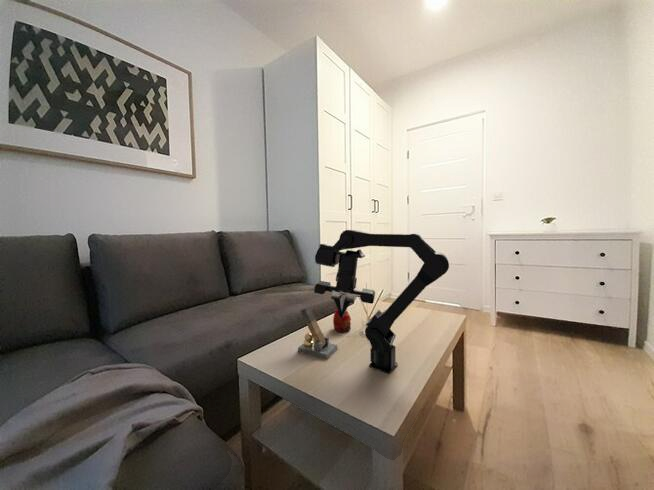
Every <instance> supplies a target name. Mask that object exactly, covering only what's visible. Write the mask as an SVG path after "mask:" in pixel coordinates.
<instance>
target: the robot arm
mask: <svg viewBox="0 0 654 490" xmlns="http://www.w3.org/2000/svg"><path fill="white" fill-rule="evenodd" d="M365 247H388V248H390V247H391V248H392V247H393V248H409V249H412V252H414V253H415V255H417V257H418V258H419V259H420V260H421V262H423V264H422V266H421V268H420V269H419V271H418V272H417V273H416V276H415V277H414V278H413V279H412V280H411V281H410V283H408V284H407V286H406V287H405V288H404V290H403V291H402V292H401V293H399V295H398V296H397V297H396V298H395V299H394V301H393V302H392V303H391V304H389V306H388V307H387V309H386V310H384V311H381V310H380V309H377V311H376V312H375V314H373V316H372V317H370V319H368V321H367V322H366V324H365V326H366V328H365V329H364V334H365V337H366V339H367V341H369V343H370V347H371V348H370V353H369V354H370V362H369V365H368V367H369V368H372V369H375V370H378V371H380V372H384V373H386V374H391V372H393V370H394V369H395V368H396V367H397V366H398V362H397V361H396V347H397V346H396V345H394V344H393V343H394V342H395V339H396V333H395V332H393V330H391V328H392V327H393V324H394V323H395V321H396V320H397V319H398V318H399V317H400V315H402V314H403V312H404V311H406V310H407V308H408V307H409V306H410V305H411V304H412V303H413V302H414V300H415V299H416V298H417V297H418V296H419V295H420V294H421V293H422V291H424V290H425V289H426V287H428V286H429V285H431V284H432V283H434V282H436V281H437V280H439V278H441V277H442V276H444V275H445V274H446V273H447V272H448V271H449V268H450V263H449V259H448V258H447V256H446V255H445V254H443V253H441V252H437V251H436V250H434V248H432V247H431V245H429V244H428V243H427V242H426V241H425V240H424V239H423V238H422V237H421V235H420V234H418V233H410V234H407V233H406V234H402V233H399V234H398V233H370V232H365V231H362V230H357V229H346V230H343V231H342V232H341V233H340V235H339V239H338V240H337V241H336V242H335V243H334V244H333V245H328V244H325V243H320V244H319V247H318V248H317V250H316V252H315V255H314V261H315V264H316V265H320V266H326V267H331V268H335V267H336V265H338V266H337V273H336V276H335V281H336V285H335V286H334V285H331V282H330V281H323V280H320V281H318V282H317V283H316V284H315V285H314V288H313V293H314V294H317V295H318V294H319V295H324V294H325V293H326V292H329V293H331V297H330V299H331V300H333V302H334V304H335V305H336V310H337V309H338V312H339V316H340V318H343V316H344V314H345V312H346V310H347V311H348V308H349V305H350V304H351V303H355V301H356V299H357V298H360V301H361V302H362V303H365V304H370V305H371V304H372V305H373V304H374V302H375V298H376V292H375V290H374V289H369V288H363V289H361V290H357V289H356V288H357V287H356V286H357V280H358V279H357V269H358V260H359V259H363V258H365V257H366V255H365V254H364V252H362V250H361V248H365ZM359 248H360V249H359ZM352 249H357V250H356V251H355V250H352ZM344 250H346V251H345V252H344ZM342 251H343V252H342ZM344 295H345V296H346V297H345V298H344Z"/></svg>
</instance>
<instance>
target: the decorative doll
mask: <svg viewBox="0 0 654 490" xmlns="http://www.w3.org/2000/svg"><path fill="white" fill-rule="evenodd" d="M349 313H350V312H348V309H347V310H346V312H345V314H344V316H343V318H340V316H339V312H338V309H337V308H336V310H335V311H334V313H333V319H332V320H333V321H332V323H333V328H334V330H335V331H336V332H338V333H342V332H347V331H351V328H352V327H351V324H352V322H351V321H352V318H351V315H350V314H349Z"/></svg>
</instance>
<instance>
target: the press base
mask: <svg viewBox="0 0 654 490" xmlns="http://www.w3.org/2000/svg"><path fill="white" fill-rule="evenodd" d="M323 336H324V338H325V340H326V344H325V345H324V346H323V347H322V343H321V342H317V341H316V342H315V341H314V339H313V337H312V334H311V332H307V333H305V335H304V341H303V343H302V344H301V345H300V346H298V347H297V351H298V353H300V354H305V355H309V356H313V357H315V358H316V357H317V358H321V359H324V360H328V359H329V358H330V357H331V356H332V355H333V354H334V353H335V352H336V351H337V350H338V345H337V344H335V343H330V340H329V339H330V338H329V336H325V335H323Z"/></svg>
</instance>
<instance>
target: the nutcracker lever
mask: <svg viewBox="0 0 654 490" xmlns="http://www.w3.org/2000/svg"><path fill="white" fill-rule="evenodd" d="M300 312H301V315H302V316H303V319H304V321H305V324H306V326H307V328H308V330H309V333H311V334H312V337H313V340H314V341H315V342H316V341H317V342H321V343H322V347H323V346H324V345H325V344H326V340H325V338H324V336H325V335H324V334H323V331H322V329H321V328H320V326H319V324H318V322H317V319H316V317H315V315H314V313H313V311H312V309H311V307H310V306H307V307H306V308H303V309H301V310H300Z"/></svg>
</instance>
